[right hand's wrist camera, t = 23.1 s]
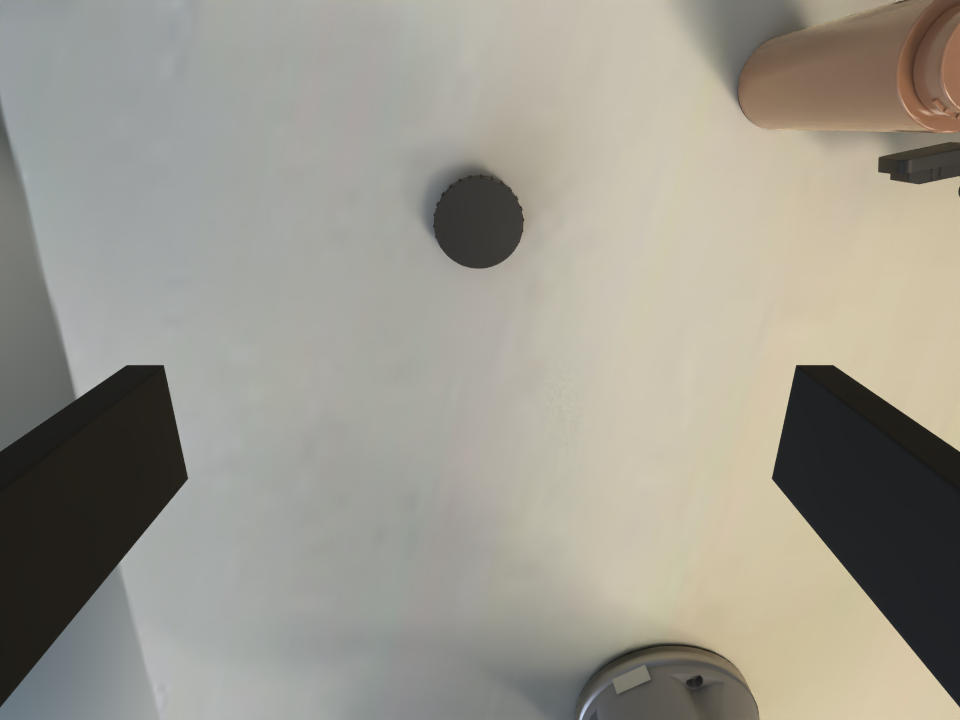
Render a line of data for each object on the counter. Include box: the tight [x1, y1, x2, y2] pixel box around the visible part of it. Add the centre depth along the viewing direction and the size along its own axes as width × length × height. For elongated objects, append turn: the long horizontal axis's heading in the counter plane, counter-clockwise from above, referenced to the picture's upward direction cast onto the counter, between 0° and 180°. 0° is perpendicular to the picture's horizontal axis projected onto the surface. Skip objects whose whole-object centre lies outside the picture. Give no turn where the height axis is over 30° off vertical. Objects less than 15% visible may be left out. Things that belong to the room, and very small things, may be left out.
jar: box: [738, 0, 960, 133], centre depth 27 cm, size 5×5×15 cm
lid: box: [433, 174, 524, 268], centre depth 36 cm, size 5×5×2 cm
